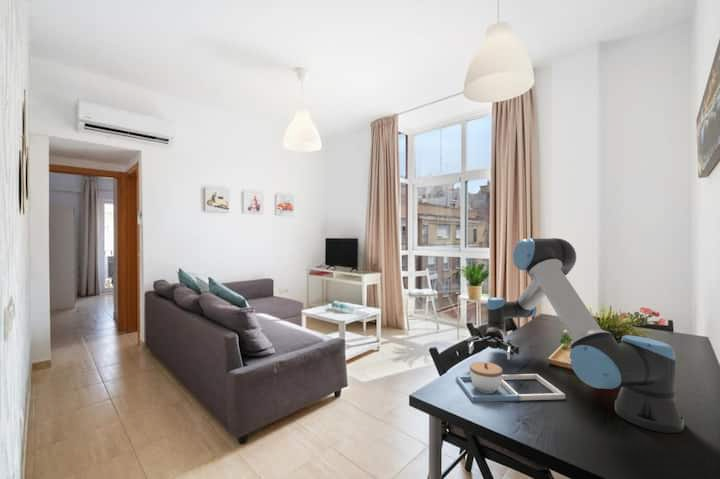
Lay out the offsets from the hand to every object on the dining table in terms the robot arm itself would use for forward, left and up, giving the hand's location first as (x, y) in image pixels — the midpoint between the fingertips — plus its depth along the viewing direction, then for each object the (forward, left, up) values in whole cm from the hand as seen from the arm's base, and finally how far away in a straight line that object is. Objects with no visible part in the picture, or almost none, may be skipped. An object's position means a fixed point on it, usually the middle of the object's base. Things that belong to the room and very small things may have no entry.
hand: (488, 352), depth 122 cm
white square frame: (-9, -10, -10) cm, 17 cm away
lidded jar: (-9, +5, -10) cm, 14 cm away
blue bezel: (-9, +5, -10) cm, 14 cm away
